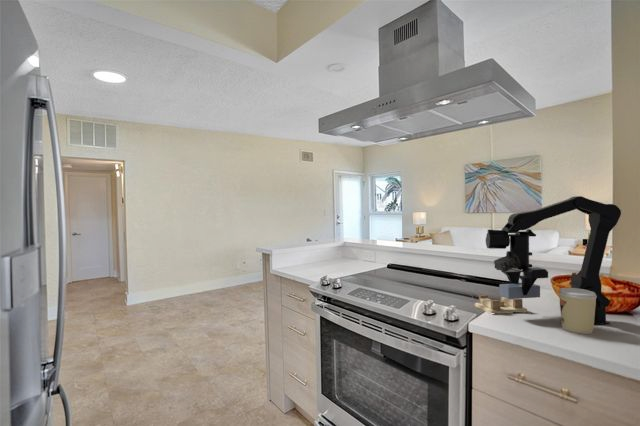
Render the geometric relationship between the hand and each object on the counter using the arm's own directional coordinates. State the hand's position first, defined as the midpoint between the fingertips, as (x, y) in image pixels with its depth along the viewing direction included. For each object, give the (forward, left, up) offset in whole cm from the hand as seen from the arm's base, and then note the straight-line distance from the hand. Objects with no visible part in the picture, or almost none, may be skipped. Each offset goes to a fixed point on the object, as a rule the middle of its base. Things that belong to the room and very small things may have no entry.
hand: (519, 293), depth 113 cm
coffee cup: (-13, -9, -8) cm, 18 cm away
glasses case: (0, 0, -1) cm, 1 cm away
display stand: (+9, +1, -8) cm, 12 cm away
